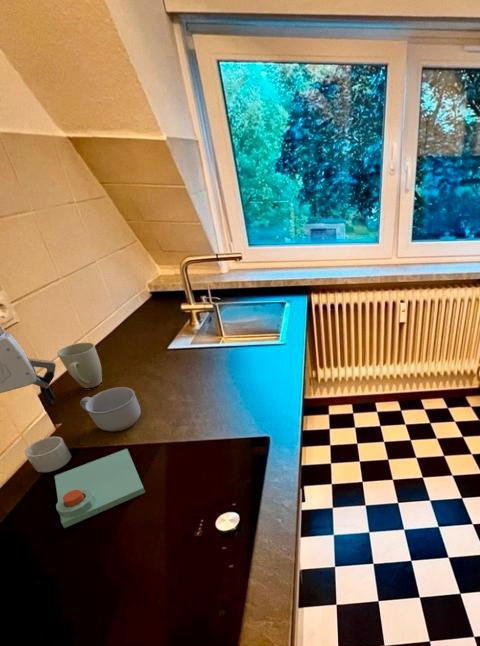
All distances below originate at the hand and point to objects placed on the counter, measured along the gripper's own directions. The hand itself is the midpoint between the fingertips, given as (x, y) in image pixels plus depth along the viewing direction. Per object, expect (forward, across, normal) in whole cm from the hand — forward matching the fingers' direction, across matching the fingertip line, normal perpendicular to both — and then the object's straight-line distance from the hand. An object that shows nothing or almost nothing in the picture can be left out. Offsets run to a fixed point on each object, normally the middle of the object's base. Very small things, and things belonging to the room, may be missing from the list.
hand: (22, 411), depth 79 cm
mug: (+14, +12, +34) cm, 39 cm away
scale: (+14, +7, -15) cm, 22 cm away
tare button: (+12, +3, -20) cm, 23 cm away
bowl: (+14, 0, 0) cm, 14 cm away
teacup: (+14, +14, +8) cm, 22 cm away
